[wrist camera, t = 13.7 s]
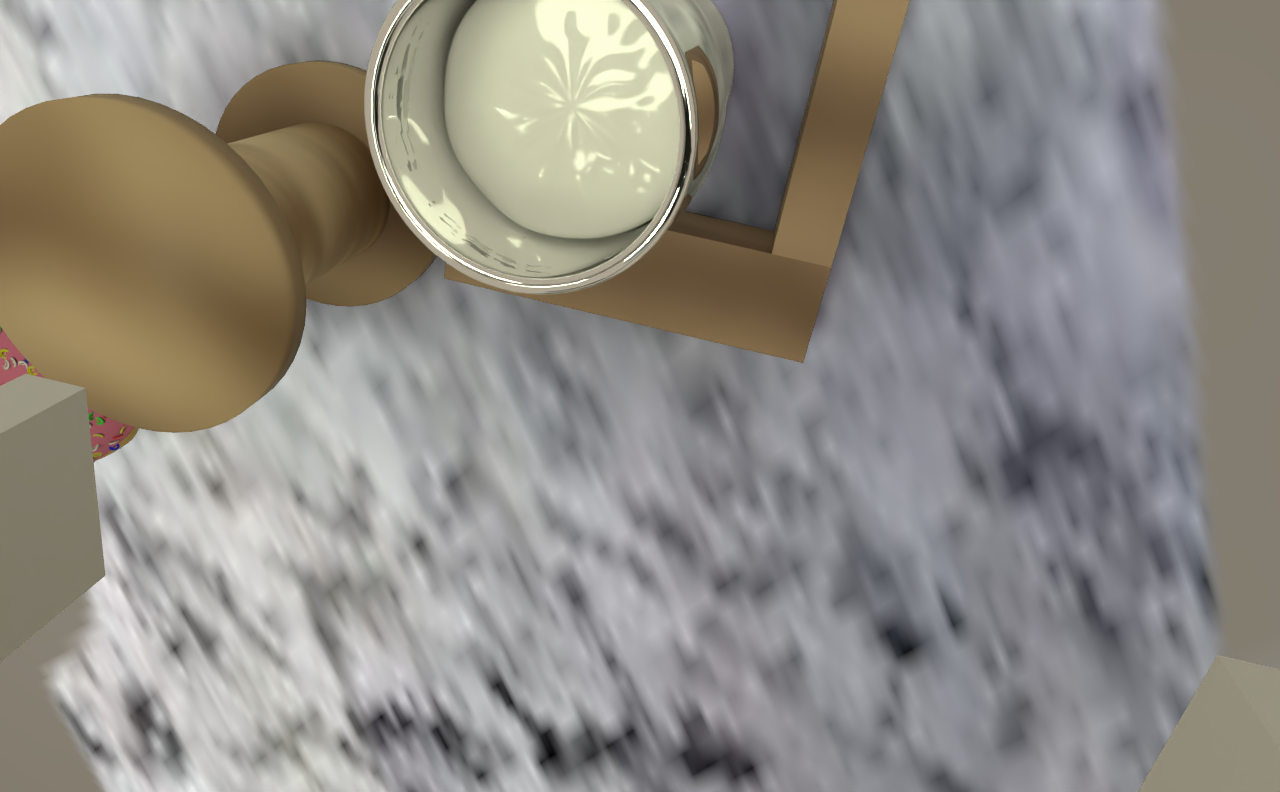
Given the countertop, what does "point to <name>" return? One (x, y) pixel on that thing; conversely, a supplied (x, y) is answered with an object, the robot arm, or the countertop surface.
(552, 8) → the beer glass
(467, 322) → the countertop surface
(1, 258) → the bobbin
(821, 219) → the u-shaped block
